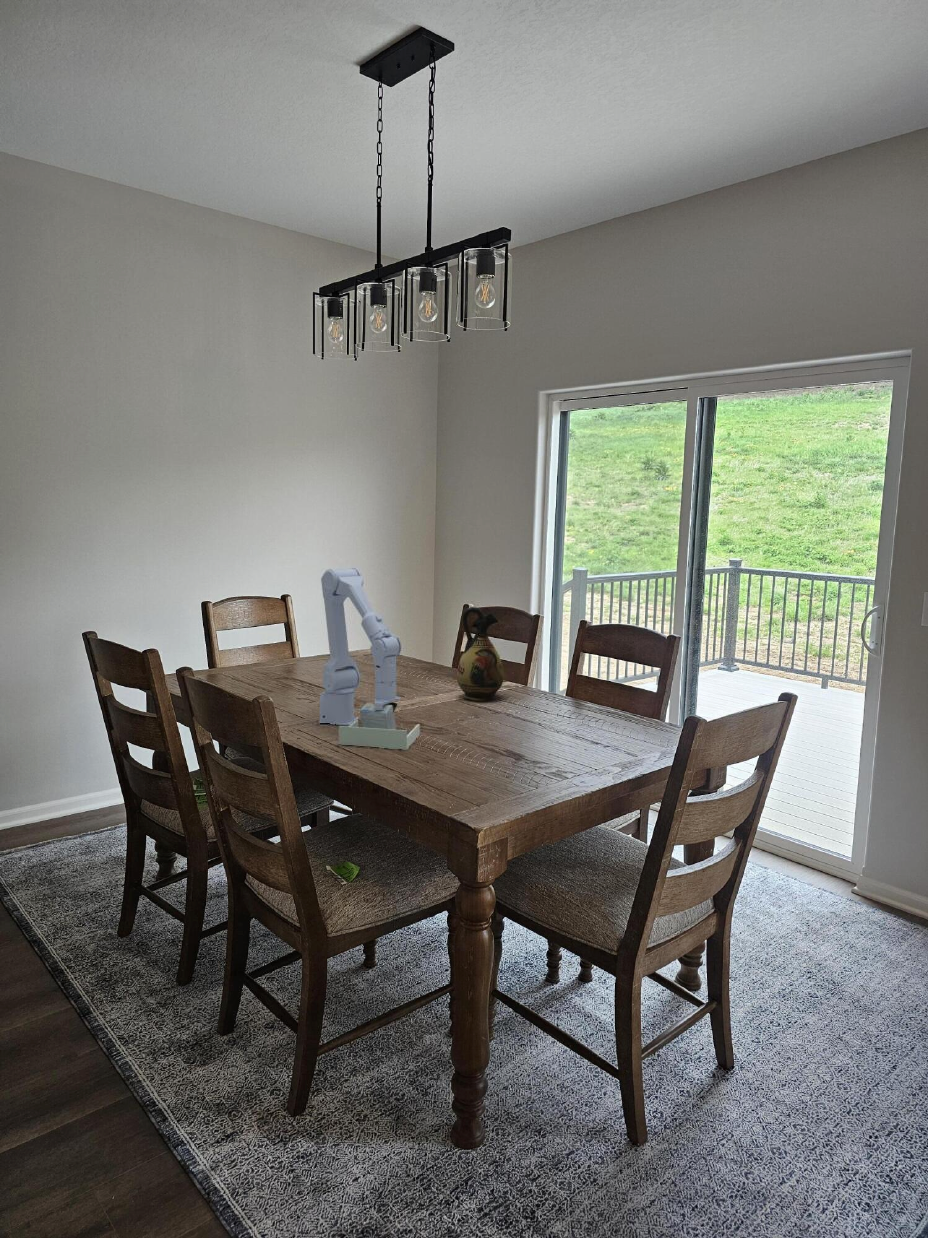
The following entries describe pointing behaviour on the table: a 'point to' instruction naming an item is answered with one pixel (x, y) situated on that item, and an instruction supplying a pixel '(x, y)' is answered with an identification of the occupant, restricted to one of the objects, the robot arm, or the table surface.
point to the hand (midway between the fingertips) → (385, 730)
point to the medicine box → (377, 717)
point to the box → (377, 736)
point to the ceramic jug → (480, 660)
